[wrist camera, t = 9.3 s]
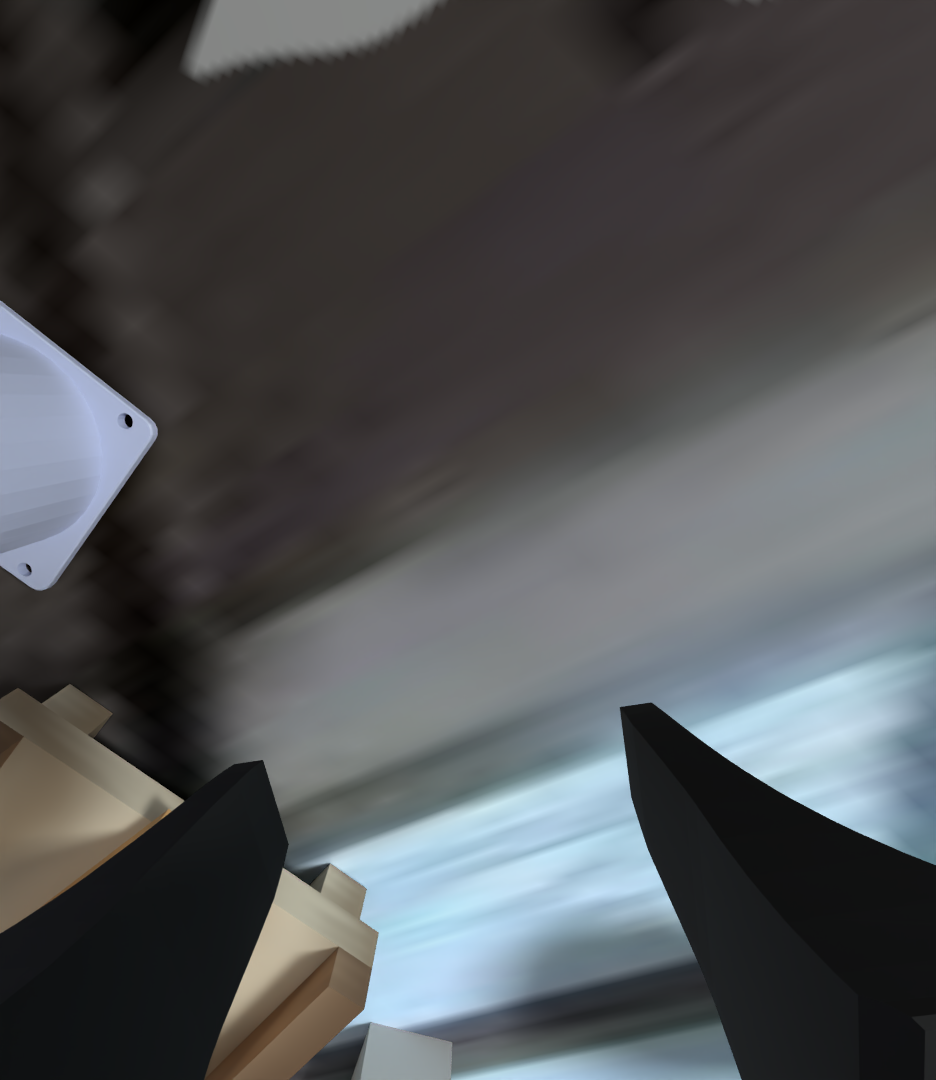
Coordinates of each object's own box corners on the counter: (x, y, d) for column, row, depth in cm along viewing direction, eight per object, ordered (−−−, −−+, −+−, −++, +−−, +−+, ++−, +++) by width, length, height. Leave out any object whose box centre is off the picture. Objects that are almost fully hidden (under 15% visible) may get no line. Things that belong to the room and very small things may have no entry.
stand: (-68, 829, 24) (-189, 923, 20) (48, 668, 22) (-58, 734, 18) (254, 1029, 27) (209, 1153, 22) (384, 901, 25) (364, 1009, 20)
